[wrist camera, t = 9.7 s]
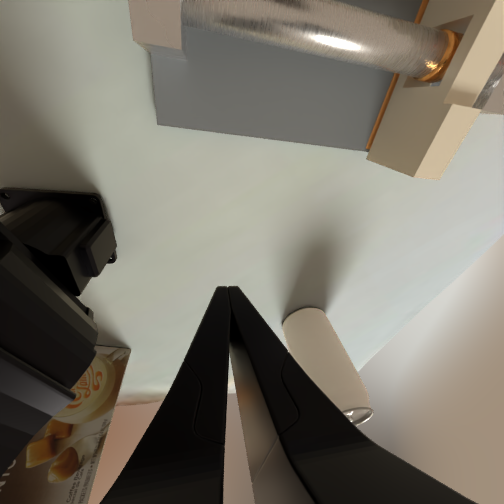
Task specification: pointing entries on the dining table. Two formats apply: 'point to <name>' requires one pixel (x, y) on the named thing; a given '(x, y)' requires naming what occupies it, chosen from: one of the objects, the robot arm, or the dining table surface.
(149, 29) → the steel pipe
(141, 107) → the dining table surface
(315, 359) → the can
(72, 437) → the coffee box
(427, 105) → the cream flat bar
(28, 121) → the dining table surface
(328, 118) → the rail board
